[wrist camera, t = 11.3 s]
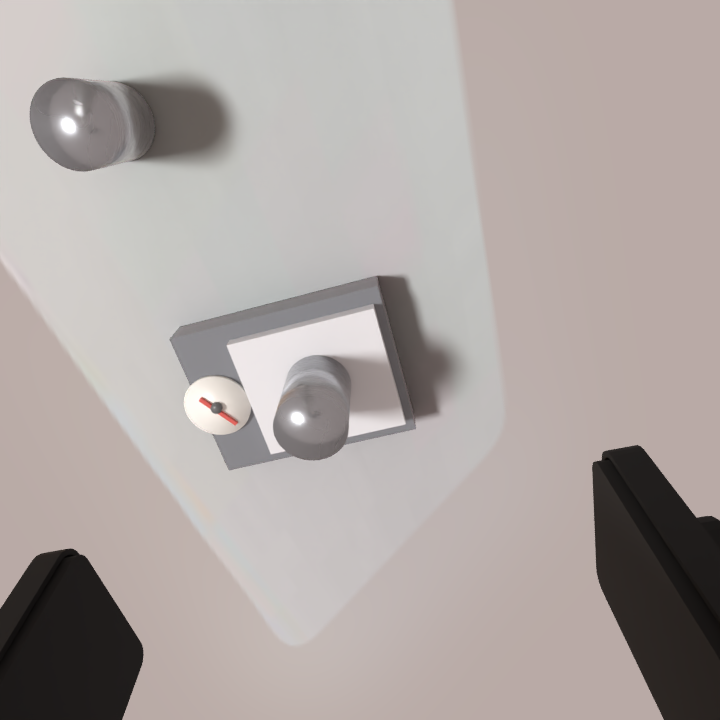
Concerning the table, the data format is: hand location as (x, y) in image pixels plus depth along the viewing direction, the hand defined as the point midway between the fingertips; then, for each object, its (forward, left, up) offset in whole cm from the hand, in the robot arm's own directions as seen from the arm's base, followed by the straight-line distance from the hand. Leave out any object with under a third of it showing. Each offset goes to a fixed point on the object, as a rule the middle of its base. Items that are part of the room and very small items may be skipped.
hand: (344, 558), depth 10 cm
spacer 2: (+7, -5, -22) cm, 24 cm away
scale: (+7, -6, -25) cm, 27 cm away
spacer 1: (-10, -11, -25) cm, 29 cm away
